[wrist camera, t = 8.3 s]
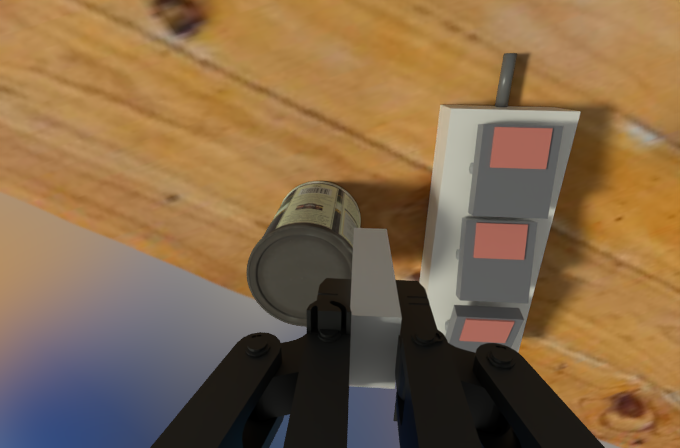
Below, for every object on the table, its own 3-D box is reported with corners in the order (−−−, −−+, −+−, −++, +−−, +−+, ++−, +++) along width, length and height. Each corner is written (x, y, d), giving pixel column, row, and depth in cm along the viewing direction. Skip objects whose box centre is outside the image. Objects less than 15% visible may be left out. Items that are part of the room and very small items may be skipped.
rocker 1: (478, 124, 34) (484, 123, 32) (554, 126, 34) (564, 125, 32) (468, 212, 36) (473, 216, 34) (539, 215, 36) (548, 219, 34)
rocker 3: (454, 304, 40) (457, 318, 38) (519, 307, 40) (524, 321, 38) (441, 351, 45) (443, 364, 43) (498, 354, 45) (502, 367, 43)
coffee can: (303, 268, 48) (282, 341, 35) (264, 201, 44) (223, 253, 31) (375, 239, 46) (381, 304, 33) (339, 166, 42) (330, 206, 29)
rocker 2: (462, 217, 38) (467, 220, 36) (530, 220, 38) (538, 222, 36) (455, 295, 39) (460, 301, 38) (521, 297, 39) (529, 304, 37)
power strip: (446, 53, 37) (462, 49, 31) (568, 55, 37) (607, 51, 31) (413, 330, 50) (420, 364, 45) (502, 335, 50) (521, 369, 44)
